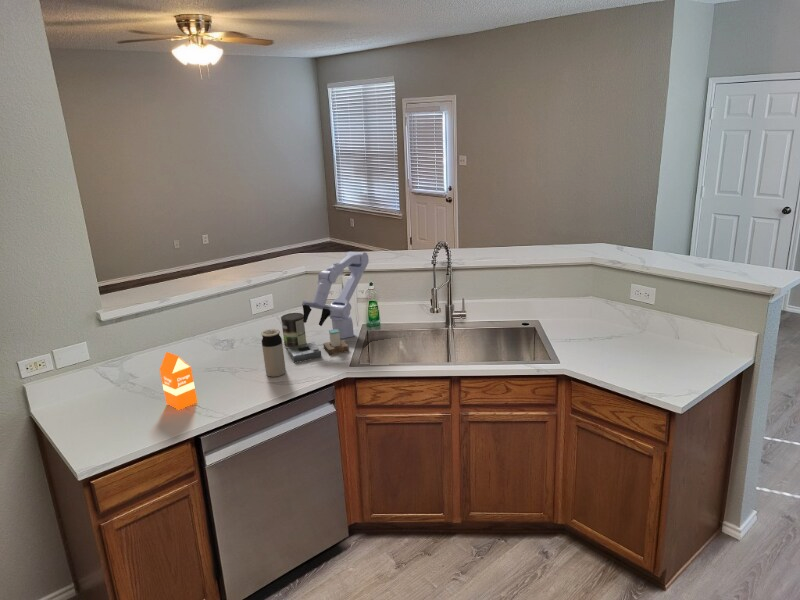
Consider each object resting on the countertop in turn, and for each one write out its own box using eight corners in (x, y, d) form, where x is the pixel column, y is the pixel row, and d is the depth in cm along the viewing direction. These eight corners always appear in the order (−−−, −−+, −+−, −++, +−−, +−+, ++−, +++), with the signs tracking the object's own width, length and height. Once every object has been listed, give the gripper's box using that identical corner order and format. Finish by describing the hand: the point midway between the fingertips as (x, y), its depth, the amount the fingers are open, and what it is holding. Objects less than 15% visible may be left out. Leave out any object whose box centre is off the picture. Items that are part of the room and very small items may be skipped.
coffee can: (287, 350, 259) (283, 321, 255) (282, 343, 268) (278, 315, 264) (309, 346, 263) (306, 317, 258) (303, 339, 272) (300, 311, 268)
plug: (339, 347, 258) (337, 329, 256) (341, 350, 255) (339, 331, 252) (330, 349, 257) (328, 330, 254) (333, 352, 254) (331, 333, 251)
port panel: (314, 348, 259) (314, 341, 258) (321, 357, 249) (320, 350, 248) (288, 353, 255) (287, 346, 254) (294, 362, 245) (293, 355, 244)
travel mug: (275, 378, 230) (269, 336, 225) (262, 374, 235) (256, 333, 229) (290, 371, 236) (284, 330, 231) (277, 367, 241) (271, 327, 235)
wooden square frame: (342, 344, 261) (342, 339, 261) (348, 351, 253) (348, 345, 253) (323, 348, 258) (323, 343, 258) (329, 355, 250) (328, 349, 250)
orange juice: (185, 396, 219) (175, 348, 213) (197, 402, 214) (188, 352, 208) (166, 404, 214) (156, 355, 208) (178, 411, 208) (168, 360, 202)
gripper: (303, 289, 255) (294, 317, 251) (333, 295, 251) (324, 324, 247) (309, 294, 261) (299, 322, 257) (338, 300, 257) (329, 328, 253)
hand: (312, 323), depth 252 cm, fingers open, 7 cm apart
